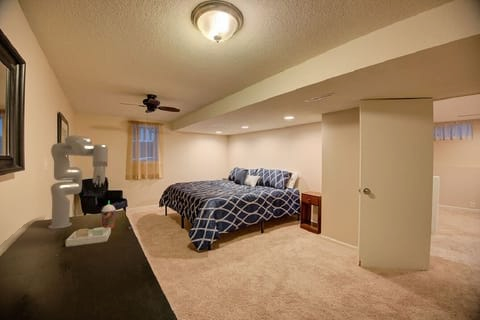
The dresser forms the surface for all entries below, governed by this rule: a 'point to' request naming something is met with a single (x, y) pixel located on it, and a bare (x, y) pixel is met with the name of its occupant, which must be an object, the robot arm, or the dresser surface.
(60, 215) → the robot arm
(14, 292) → the dresser surface
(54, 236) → the dresser surface
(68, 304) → the dresser surface
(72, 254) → the dresser surface
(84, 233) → the maple block
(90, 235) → the tray
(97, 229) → the sage block
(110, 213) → the smoothie
